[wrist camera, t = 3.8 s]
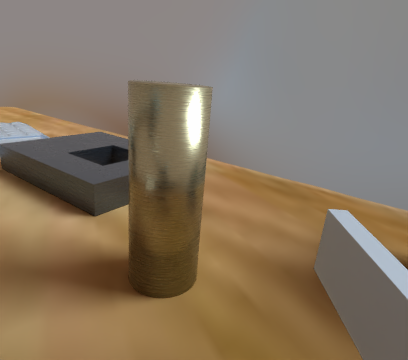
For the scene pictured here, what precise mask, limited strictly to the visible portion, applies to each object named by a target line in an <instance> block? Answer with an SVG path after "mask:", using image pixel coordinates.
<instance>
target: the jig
mask: <svg viewBox="0 0 408 360" xmlns="http://www.w3.org/2000/svg"><path fill="white" fill-rule="evenodd" d="M0 159H1V165H2V169H4V170H6V171H8V172H10V173H12V174H14V175H16V176H18V177H19V178H21V179H23V180H25V181H27V182H29V183H31V184H33V185H35V186H37V187H39V188H41V189H43V190H45V191H47V192H49V193H51V194H53V195H55V196H57V197H59V198H61V199H62V200H64V201H66V202H68V203H70V204H72V205H74V206H76V207H78V208H80V209H82V210H84V211H86V212H88V213H90V214H92V215H94V216H97V215H100V214H102V213H105V212H108V211H110V210H113V209H116V208H119V207H121V206H124V205H127V204H129V164H128V139H125V138H121V137H117V136H114V135H110V134H106V133H102V132H95V133H87V134H78V135H70V136H62V137H53V138H45V139H36V140H28V141H20V142H11V143H3V144H0Z"/></svg>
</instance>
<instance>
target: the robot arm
mask: <svg viewBox="0 0 408 360" xmlns="http://www.w3.org/2000/svg"><path fill="white" fill-rule="evenodd" d="M314 270H315V272H316V274H317V275H318V277H319V279H320V281H321V283H322V285H323V287H324V288H325V290H326V292H327V294H328V296H329V298H330V299H331V301H332V303H333V305H334V307H335V309H336V311H337V312H338V314H339V316H340V318H341V320H342V322H343V324H344V325H345V327H346V329H347V331H348V333H349V335H350V336H351V338H352V340H353V342H354V344H355V346H356V348H357V349H358V351H359V353H360V355H361V357H362V359H363V360H408V270H407V269H406V268H405V267H404V266H403V265H402V264H401V263H400V262H399V261H398V260H397V259H396V258H395V257H394V256H393V255H392V254H391V253H390V252H389V251H388V250H387V249H386V248H385V247H384V246H383V245H382V244H381V243H380V242H379V241H378V240H377V239H376V238H375V237H374V236H373V235H372V234H371V233H370V232H369V231H368V230H367V229H366V228H365V227H364V226H363V225H362V224H361V223H360V222H359V221H358V220H357V219H355V218H354V217H353V216H352V215H351V214H350V213H349V212H348V211H347V210H334V209H328V211H327V215H326V219H325V224H324V228H323V232H322V236H321V240H320V245H319V249H318V253H317V257H316V261H315V265H314Z"/></svg>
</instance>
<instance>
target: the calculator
mask: <svg viewBox="0 0 408 360" xmlns="http://www.w3.org/2000/svg"><path fill="white" fill-rule="evenodd" d="M45 138H49V137H47V136H46V135H44V134H42V133H41V132H39V131H37V130H36V129H34V128H32V127H30V126H29V125H27V124H25V123H22V122H12V123H0V144H3V143H11V142H20V141H28V140H36V139H45Z"/></svg>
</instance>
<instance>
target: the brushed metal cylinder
mask: <svg viewBox="0 0 408 360" xmlns="http://www.w3.org/2000/svg"><path fill="white" fill-rule="evenodd" d="M211 100H212V87H209V86H201V85H192V84H181V83H170V82H156V81H135V80H133V81H132V80H130V81H128V164H129V281H130V284H131V285H132V287H133V288H134V289H135V290H137V291H138V292H140V293H142V294H144V295H147V296H150V297H157V298H167V297H174V296H177V295H180V294H182V293H184V292H186V291H188V290H189V289H190V288H191V287H192V286H193V285H194V283H195V281H196V276H197V264H198V252H199V241H200V229H201V217H202V205H203V194H204V182H205V170H206V159H207V147H208V134H209V124H210V123H209V122H210V112H211Z"/></svg>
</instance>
